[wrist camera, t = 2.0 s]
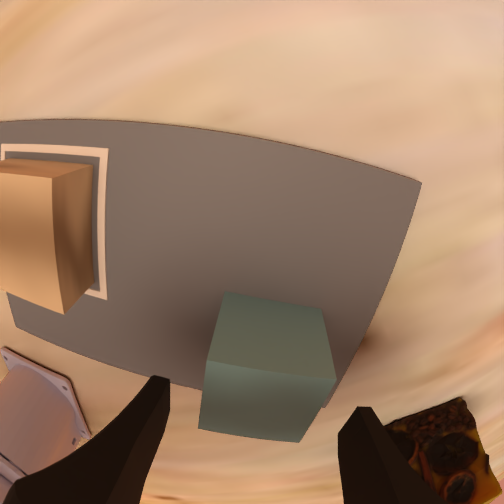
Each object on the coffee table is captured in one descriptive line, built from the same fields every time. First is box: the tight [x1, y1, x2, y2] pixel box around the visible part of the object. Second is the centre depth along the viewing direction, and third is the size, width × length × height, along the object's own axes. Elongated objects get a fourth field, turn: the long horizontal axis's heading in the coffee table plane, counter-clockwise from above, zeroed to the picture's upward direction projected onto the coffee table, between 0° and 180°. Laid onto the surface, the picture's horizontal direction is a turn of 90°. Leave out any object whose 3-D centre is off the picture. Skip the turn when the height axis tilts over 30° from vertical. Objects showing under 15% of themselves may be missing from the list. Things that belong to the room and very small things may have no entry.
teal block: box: [198, 291, 337, 443], centre depth 12 cm, size 4×4×4 cm
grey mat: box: [0, 119, 422, 408], centre depth 14 cm, size 14×22×1 cm, turn 79°
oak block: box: [0, 158, 94, 315], centre depth 11 cm, size 6×6×3 cm
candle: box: [384, 398, 502, 504], centre depth 15 cm, size 10×10×10 cm
